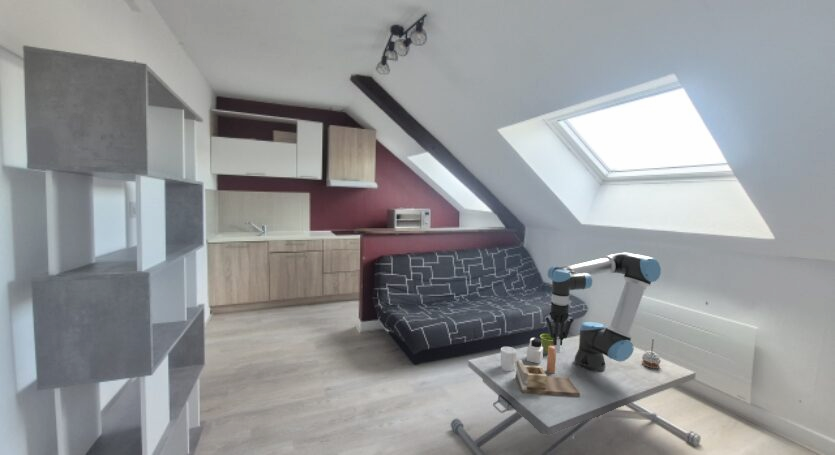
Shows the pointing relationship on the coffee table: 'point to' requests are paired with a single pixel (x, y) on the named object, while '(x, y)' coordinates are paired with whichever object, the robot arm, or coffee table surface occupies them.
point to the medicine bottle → (535, 351)
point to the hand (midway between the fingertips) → (557, 351)
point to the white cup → (508, 358)
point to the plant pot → (546, 342)
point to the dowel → (551, 359)
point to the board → (552, 386)
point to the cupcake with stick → (651, 358)
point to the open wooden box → (536, 377)
